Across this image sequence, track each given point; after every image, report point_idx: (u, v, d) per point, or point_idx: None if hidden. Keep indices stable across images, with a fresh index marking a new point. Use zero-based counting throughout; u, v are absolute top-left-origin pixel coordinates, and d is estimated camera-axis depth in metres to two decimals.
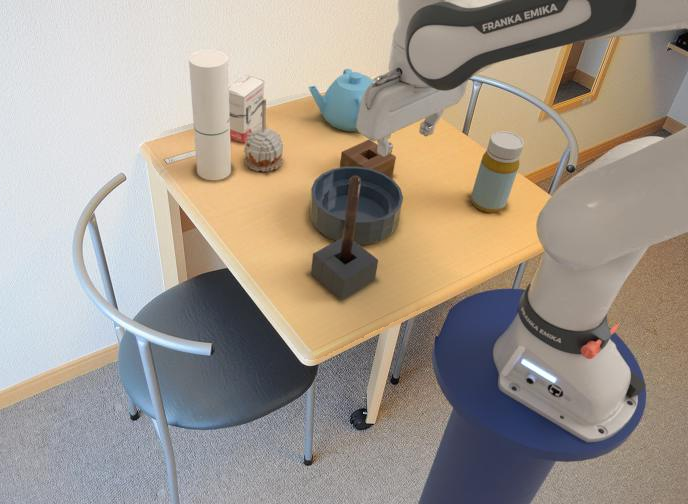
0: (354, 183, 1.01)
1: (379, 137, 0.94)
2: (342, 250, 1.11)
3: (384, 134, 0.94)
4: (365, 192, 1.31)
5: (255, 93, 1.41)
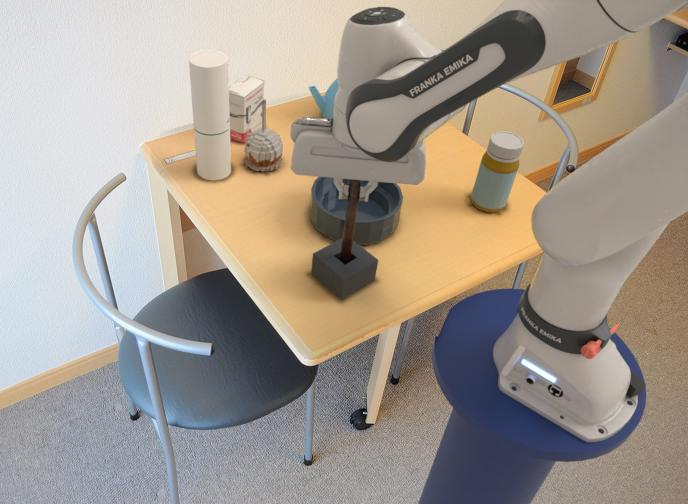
0: (354, 183, 1.01)
1: (300, 173, 0.99)
2: (342, 250, 1.11)
3: (307, 173, 0.99)
4: None
5: (255, 93, 1.41)
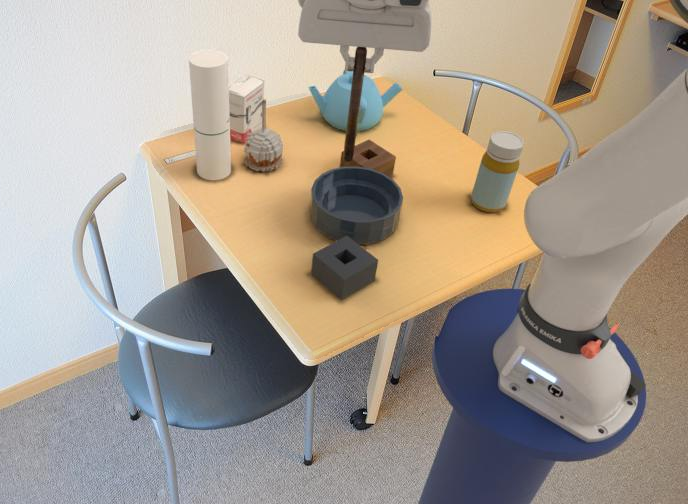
0: (360, 52, 1.02)
1: (307, 40, 1.01)
2: (347, 129, 1.12)
3: (314, 39, 1.01)
4: (365, 192, 1.31)
5: (255, 93, 1.41)
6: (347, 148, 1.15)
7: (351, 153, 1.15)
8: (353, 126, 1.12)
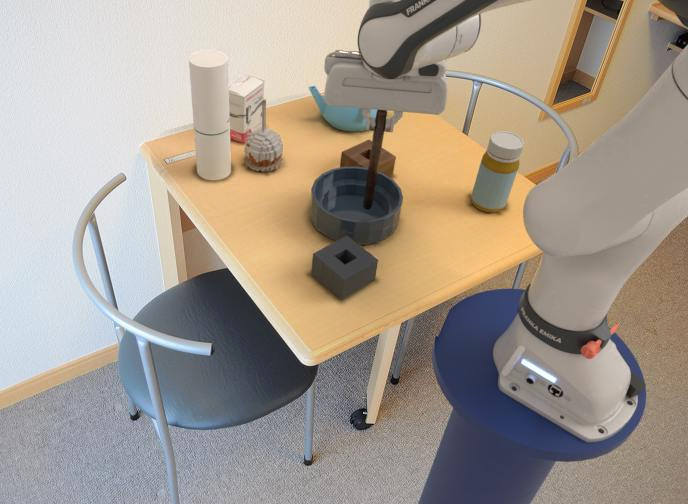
0: (381, 114, 1.11)
1: (332, 104, 1.09)
2: (367, 181, 1.21)
3: (338, 103, 1.09)
4: None
5: (255, 93, 1.41)
6: (366, 198, 1.23)
7: (371, 202, 1.24)
8: (373, 178, 1.20)
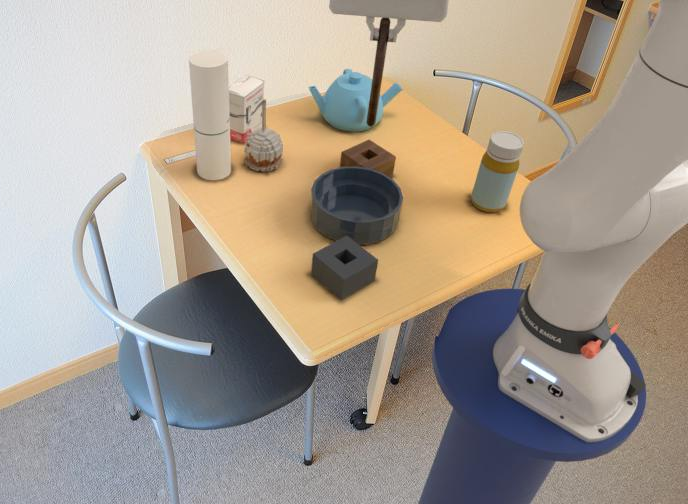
0: (384, 22, 1.14)
1: (337, 11, 1.13)
2: (371, 95, 1.24)
3: (343, 11, 1.13)
4: (365, 192, 1.31)
5: (255, 93, 1.41)
6: (370, 113, 1.27)
7: (374, 117, 1.27)
8: (376, 92, 1.23)
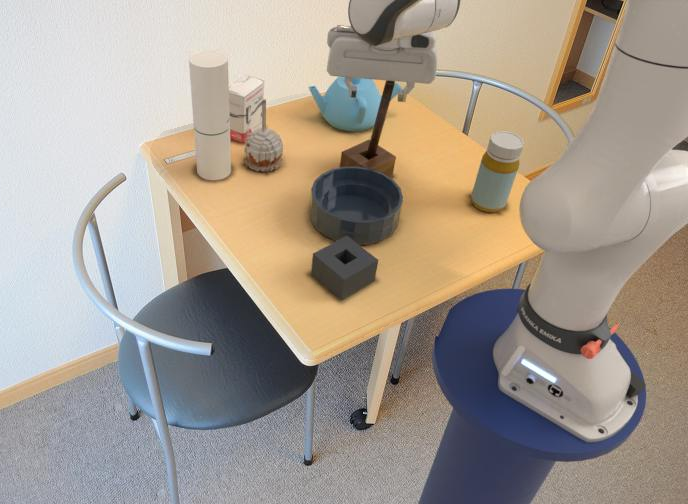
0: (389, 84, 1.24)
1: (334, 74, 1.22)
2: (369, 147, 1.34)
3: (340, 74, 1.22)
4: (365, 192, 1.31)
5: (255, 93, 1.41)
6: None
7: None
8: (375, 144, 1.33)
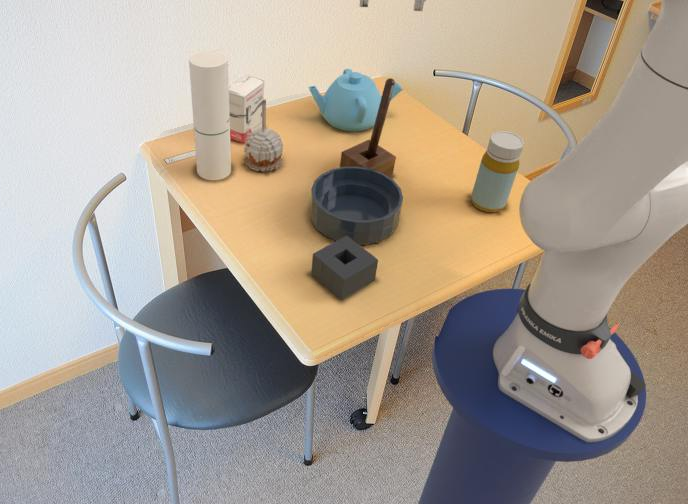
0: (389, 84, 1.24)
1: None
2: (369, 147, 1.34)
3: None
4: (365, 192, 1.31)
5: (255, 93, 1.41)
6: None
7: None
8: (375, 144, 1.33)
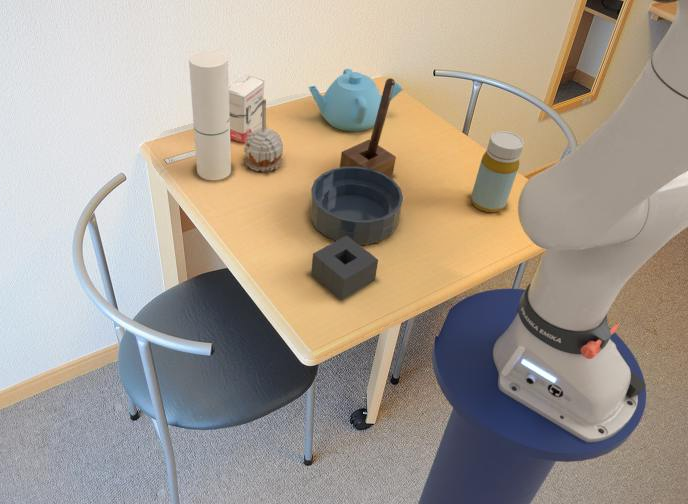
0: (389, 84, 1.24)
1: None
2: (369, 147, 1.34)
3: None
4: (365, 192, 1.31)
5: (255, 93, 1.41)
6: None
7: None
8: (375, 144, 1.33)
